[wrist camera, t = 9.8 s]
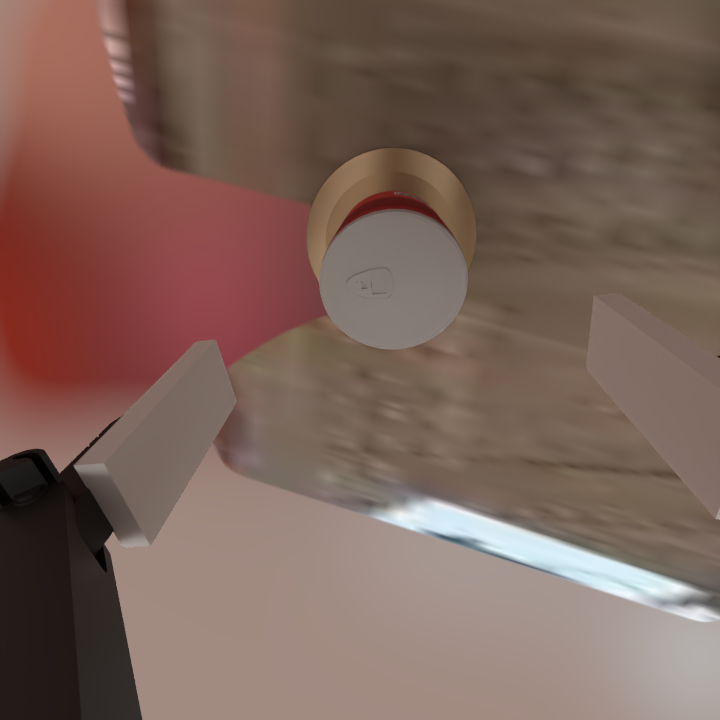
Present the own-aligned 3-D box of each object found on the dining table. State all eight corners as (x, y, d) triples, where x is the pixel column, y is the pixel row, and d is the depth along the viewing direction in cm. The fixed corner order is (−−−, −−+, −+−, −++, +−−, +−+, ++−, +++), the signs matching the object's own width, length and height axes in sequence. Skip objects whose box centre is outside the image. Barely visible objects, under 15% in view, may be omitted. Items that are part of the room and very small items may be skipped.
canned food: (324, 211, 31) (294, 242, 21) (428, 171, 29) (448, 184, 19) (359, 304, 34) (348, 367, 24) (454, 272, 32) (484, 327, 22)
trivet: (472, 133, 29) (474, 132, 28) (476, 308, 34) (478, 312, 34) (291, 163, 30) (289, 164, 29) (325, 326, 36) (323, 330, 35)
